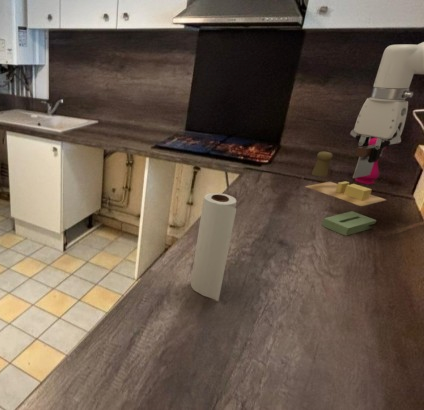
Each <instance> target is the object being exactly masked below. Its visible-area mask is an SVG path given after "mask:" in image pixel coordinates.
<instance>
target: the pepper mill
mask: <svg viewBox="0 0 424 410" xmlns="http://www.w3.org/2000/svg"><path fill="white" fill-rule="evenodd" d="M376 141H377V137H371V138H370V141H369V144H368V145H374V144H376ZM384 150H387V147H385V148H384V149H383V152H384ZM383 152H382V154H380V157H381V156H383ZM379 160H380V158H379V159H378V160H377V161H376V162H374V165H373V168H372V171H371V173H370V175H367V176H362V177H358V178H354V181H355V182H357V183H359V184H366V185H375V180H377V179H379V175H380V171H379V170H380V169H379Z"/></svg>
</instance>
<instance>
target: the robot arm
mask: <svg viewBox="0 0 424 410" xmlns="http://www.w3.org/2000/svg"><path fill="white" fill-rule="evenodd" d="M378 66H379V67H378V70H377V73H376V76H375V79H374V82H373V86H372V89H371V92H370V96H369V97H367V98H366V100H365V102H364V103H363V105H362V106H361V109H360V110H359V114H358V115H357V118H356V122H355V124H354V127H353V128H352V130H351V131H350V133H349V135H350V136H352V137H353V138H355V140H356V141H357V144H358V147H362V146H368V144H369V141H370V139H372V138H377V141H376V145H375V148H374V149H372V151H371V154H370V156H369V159H368V162H369V163H372V162H376V161H377V160H378V159H379V160H380V157H381V156H380V154H381V151H382V149H383V148H385V147H386V148H387V147H388V146H391V145H396V144H401V142H402V138H401V136H402V133H403V131H404V128H405V124H406V120H407V116H408V109H409V101H408V100H406V99H407V98H412V97H413V96H414V91H410V86H411V84H412V80H413V78H414V75H424V41H422V42H421V43H418V44H412V43H411V44H410V43H409V44H404V43H403V44H401V43H400V44H391V45H388V46H387V47H386V48H385V49H384V51H383V53H382V56H381V60H380V63H379V65H378ZM358 159H359V157H358V156H356V160H357V161H358ZM379 160H378V161H379Z"/></svg>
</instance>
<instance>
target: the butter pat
mask: <svg viewBox="0 0 424 410" xmlns="http://www.w3.org/2000/svg"><path fill="white" fill-rule="evenodd" d="M337 184H338V185H337V189H336V192H338V193H342V192H345V189H346V186H347V185H350V182H349V181H346V180H345V181H340V182H338V183H337Z"/></svg>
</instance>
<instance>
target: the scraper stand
mask: <svg viewBox="0 0 424 410" xmlns="http://www.w3.org/2000/svg"><path fill="white" fill-rule="evenodd" d="M376 222H377V220H376V219H375V218H372V217H368V216H367V215H364V214H361V213H358V212H355V211H352V210H351V211H347V212H343V213H339V214H335V215H331V216H327V217H324V218H323V220H322V224H321V226H322V227H324V228H326V229H328V230H330V231H333V232H335V233H337V234H339V235H342V236H345V237H347V236H351V235H354V234H357V233H361V232H364V231H368V230H371V229H374V227H373V226H371V225H375V224H377V223H376Z"/></svg>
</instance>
